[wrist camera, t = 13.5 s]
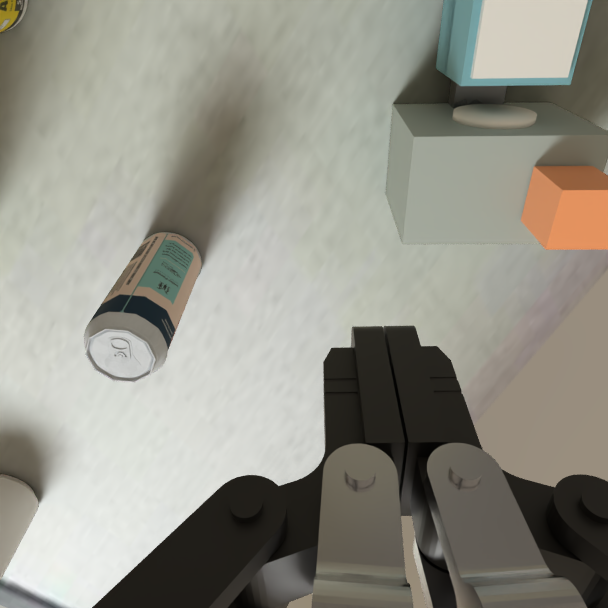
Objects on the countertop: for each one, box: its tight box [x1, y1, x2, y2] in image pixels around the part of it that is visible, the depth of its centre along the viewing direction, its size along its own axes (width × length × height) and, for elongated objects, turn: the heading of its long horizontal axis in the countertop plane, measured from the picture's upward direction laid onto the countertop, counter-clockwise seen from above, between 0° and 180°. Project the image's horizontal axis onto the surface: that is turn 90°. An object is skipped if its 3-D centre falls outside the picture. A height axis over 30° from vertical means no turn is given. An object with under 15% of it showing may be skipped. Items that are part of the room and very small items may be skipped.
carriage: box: [436, 0, 592, 86], centre depth 25 cm, size 6×5×6 cm
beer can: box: [84, 232, 202, 382], centre depth 33 cm, size 5×5×12 cm
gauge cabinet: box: [386, 102, 608, 244], centre depth 29 cm, size 6×10×8 cm, turn 91°
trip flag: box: [521, 166, 608, 250], centre depth 25 cm, size 3×3×4 cm
